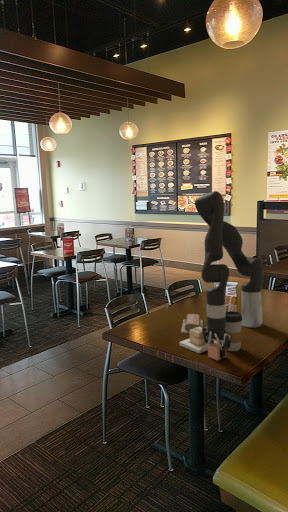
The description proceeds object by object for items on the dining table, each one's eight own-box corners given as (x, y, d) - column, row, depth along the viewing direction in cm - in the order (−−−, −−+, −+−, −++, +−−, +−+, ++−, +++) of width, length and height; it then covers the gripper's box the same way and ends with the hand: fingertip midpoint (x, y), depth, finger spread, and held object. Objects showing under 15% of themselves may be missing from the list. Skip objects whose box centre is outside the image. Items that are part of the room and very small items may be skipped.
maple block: (198, 338, 166) (198, 326, 165) (208, 342, 162) (207, 329, 161) (189, 342, 163) (189, 329, 162) (198, 345, 159) (198, 333, 158)
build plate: (199, 338, 171) (199, 335, 171) (219, 345, 161) (219, 342, 161) (179, 345, 164) (179, 341, 164) (199, 353, 154) (199, 350, 154)
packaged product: (183, 312, 195) (202, 313, 193) (183, 322, 196) (202, 322, 194) (180, 324, 177) (202, 324, 176) (180, 334, 178) (202, 334, 176)
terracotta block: (216, 353, 154) (216, 341, 153) (226, 356, 150) (225, 344, 149) (208, 356, 151) (207, 344, 150) (217, 360, 147) (217, 348, 146)
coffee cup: (219, 345, 161) (219, 311, 159) (238, 344, 162) (238, 310, 160) (225, 353, 153) (225, 317, 151) (245, 351, 154) (245, 316, 152)
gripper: (236, 316, 144) (237, 358, 147) (209, 308, 156) (210, 348, 158) (223, 321, 140) (224, 364, 143) (196, 312, 151) (197, 353, 154)
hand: (216, 355), depth 150 cm, fingers closed on terracotta block, 5 cm apart
